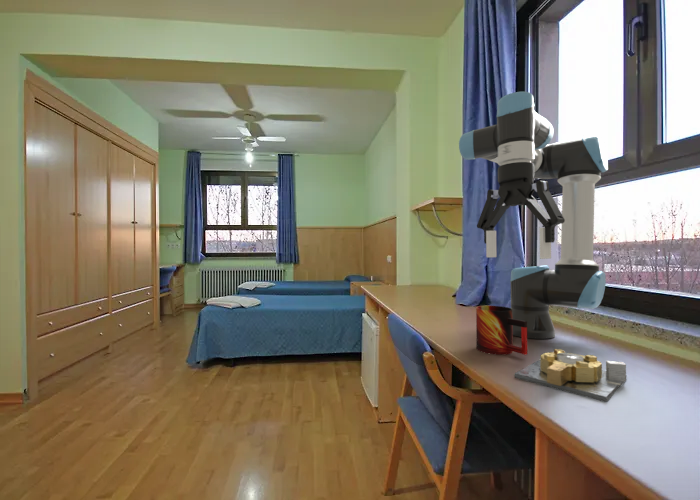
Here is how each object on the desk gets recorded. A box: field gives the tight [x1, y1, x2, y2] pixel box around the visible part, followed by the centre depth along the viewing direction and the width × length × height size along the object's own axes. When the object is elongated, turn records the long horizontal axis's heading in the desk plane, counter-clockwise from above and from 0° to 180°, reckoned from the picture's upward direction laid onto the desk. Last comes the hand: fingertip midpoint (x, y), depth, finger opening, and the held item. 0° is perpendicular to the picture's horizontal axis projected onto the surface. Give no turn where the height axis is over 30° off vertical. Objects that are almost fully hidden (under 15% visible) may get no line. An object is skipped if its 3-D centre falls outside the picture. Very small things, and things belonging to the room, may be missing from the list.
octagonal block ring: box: [539, 348, 603, 386], centre depth 76 cm, size 16×11×4 cm
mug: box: [475, 305, 528, 356], centre depth 99 cm, size 10×14×12 cm
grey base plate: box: [514, 352, 627, 403], centre depth 77 cm, size 17×18×5 cm
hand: (516, 258), depth 79 cm, fingers open, 13 cm apart
